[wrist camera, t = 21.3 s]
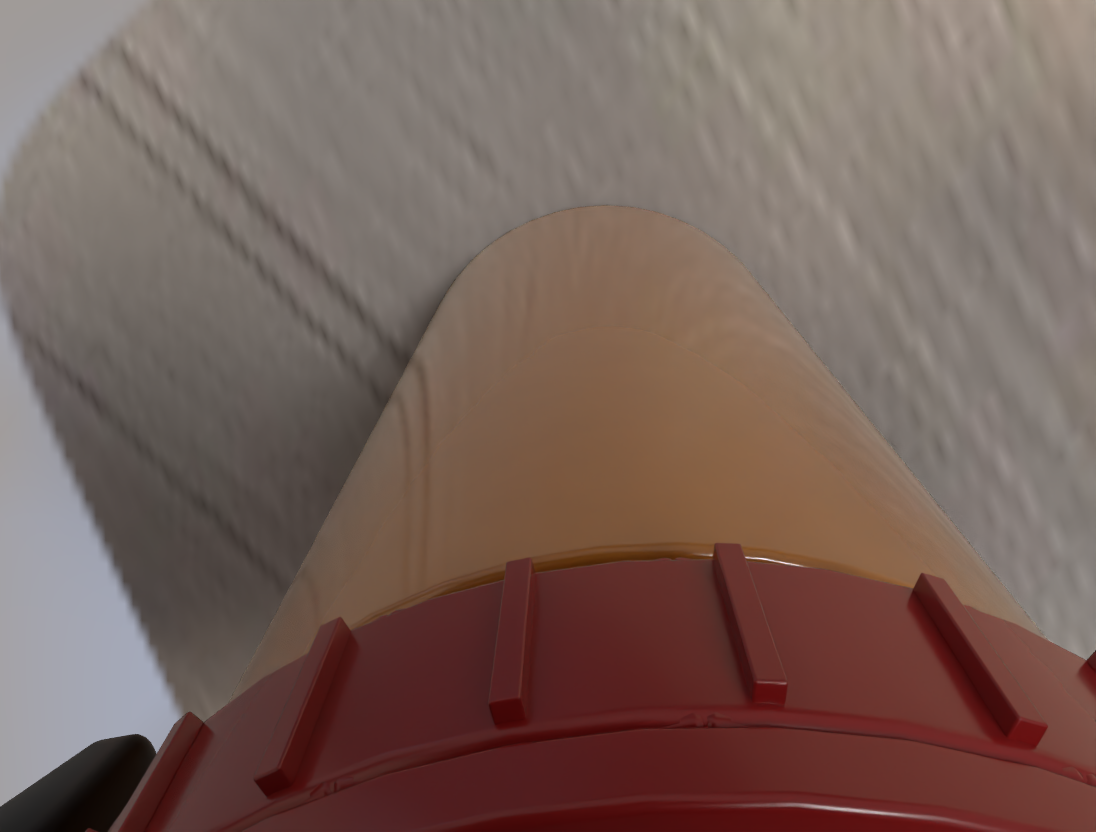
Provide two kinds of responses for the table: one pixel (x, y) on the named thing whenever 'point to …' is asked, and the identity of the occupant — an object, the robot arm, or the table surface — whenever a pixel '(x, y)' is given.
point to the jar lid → (649, 714)
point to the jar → (613, 437)
